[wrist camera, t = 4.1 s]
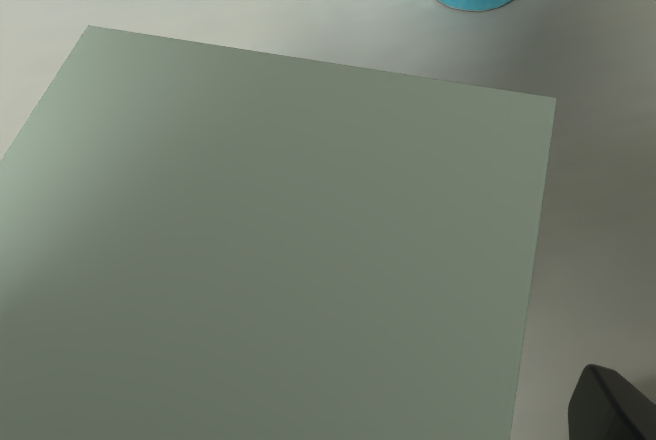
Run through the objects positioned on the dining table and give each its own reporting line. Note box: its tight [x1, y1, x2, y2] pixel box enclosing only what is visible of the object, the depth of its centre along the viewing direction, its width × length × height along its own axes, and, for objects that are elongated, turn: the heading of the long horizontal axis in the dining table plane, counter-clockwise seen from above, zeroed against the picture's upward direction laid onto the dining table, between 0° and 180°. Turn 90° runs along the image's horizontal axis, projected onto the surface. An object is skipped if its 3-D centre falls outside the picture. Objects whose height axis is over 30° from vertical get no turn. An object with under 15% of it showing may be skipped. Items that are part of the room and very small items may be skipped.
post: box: [0, 25, 557, 440], centre depth 9 cm, size 4×4×12 cm
